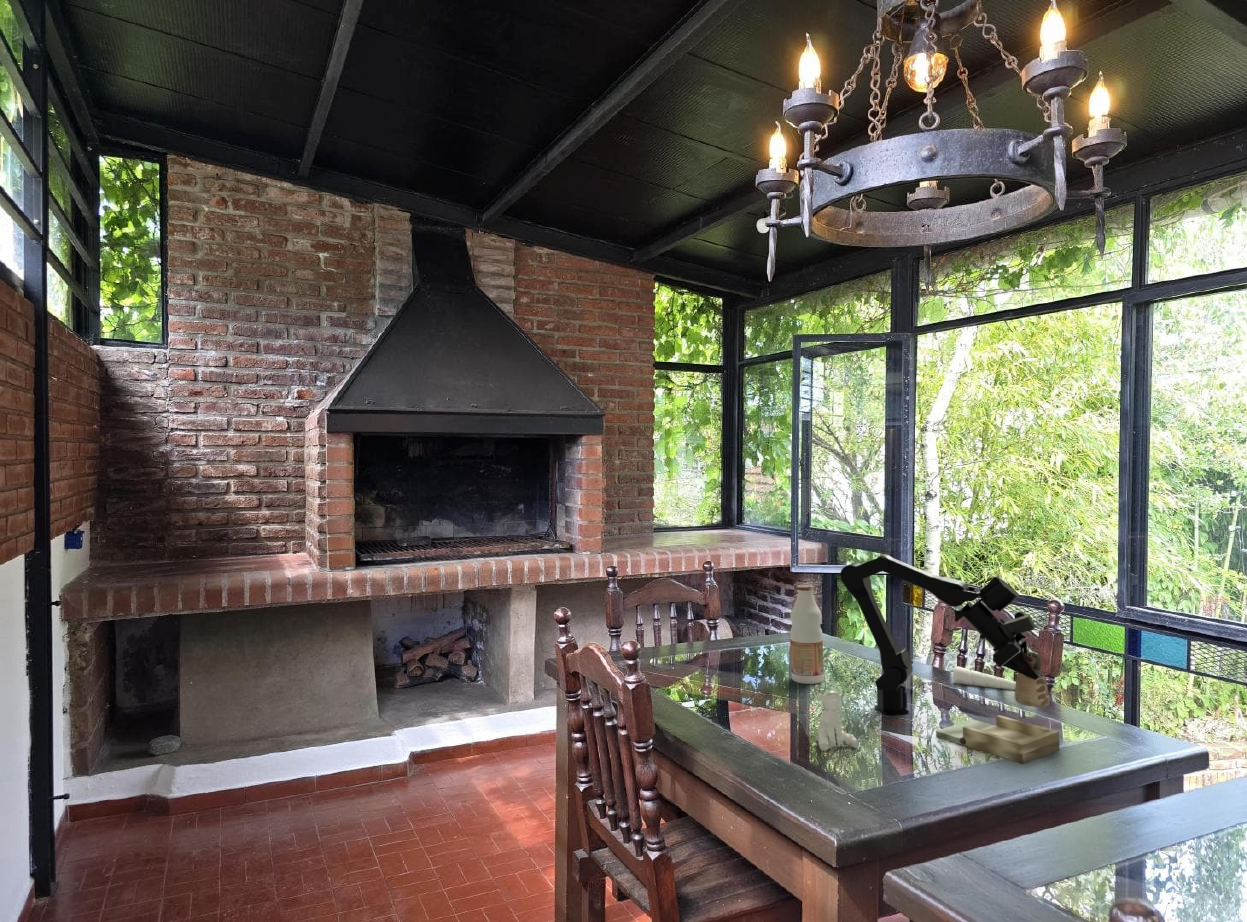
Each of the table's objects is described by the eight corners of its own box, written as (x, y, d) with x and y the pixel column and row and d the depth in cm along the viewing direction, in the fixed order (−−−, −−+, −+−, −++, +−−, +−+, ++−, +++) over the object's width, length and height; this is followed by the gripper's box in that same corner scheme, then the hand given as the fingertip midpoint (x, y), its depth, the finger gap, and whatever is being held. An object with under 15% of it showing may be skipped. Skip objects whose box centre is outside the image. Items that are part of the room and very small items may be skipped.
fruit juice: (799, 685, 226) (797, 589, 226) (786, 677, 235) (783, 584, 235) (829, 683, 228) (827, 587, 228) (815, 674, 237) (812, 582, 237)
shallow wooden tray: (935, 736, 182) (935, 719, 182) (972, 724, 190) (972, 707, 190) (1022, 764, 164) (1022, 745, 164) (1059, 749, 172) (1059, 731, 172)
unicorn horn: (1044, 697, 210) (1044, 679, 210) (951, 684, 224) (951, 668, 224) (1047, 693, 214) (1046, 675, 214) (955, 681, 228) (955, 664, 228)
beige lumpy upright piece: (821, 752, 174) (819, 698, 174) (804, 739, 183) (803, 687, 183) (860, 748, 176) (858, 695, 176) (842, 735, 184) (840, 684, 184)
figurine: (1053, 702, 184) (1052, 651, 184) (1043, 709, 179) (1043, 657, 179) (1020, 695, 189) (1020, 646, 189) (1010, 702, 184) (1010, 652, 184)
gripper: (1007, 608, 178) (1063, 663, 172) (1016, 596, 194) (1067, 645, 188) (971, 639, 182) (1024, 693, 177) (982, 624, 198) (1031, 673, 192)
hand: (1038, 675), depth 183 cm, fingers closed on figurine, 6 cm apart
